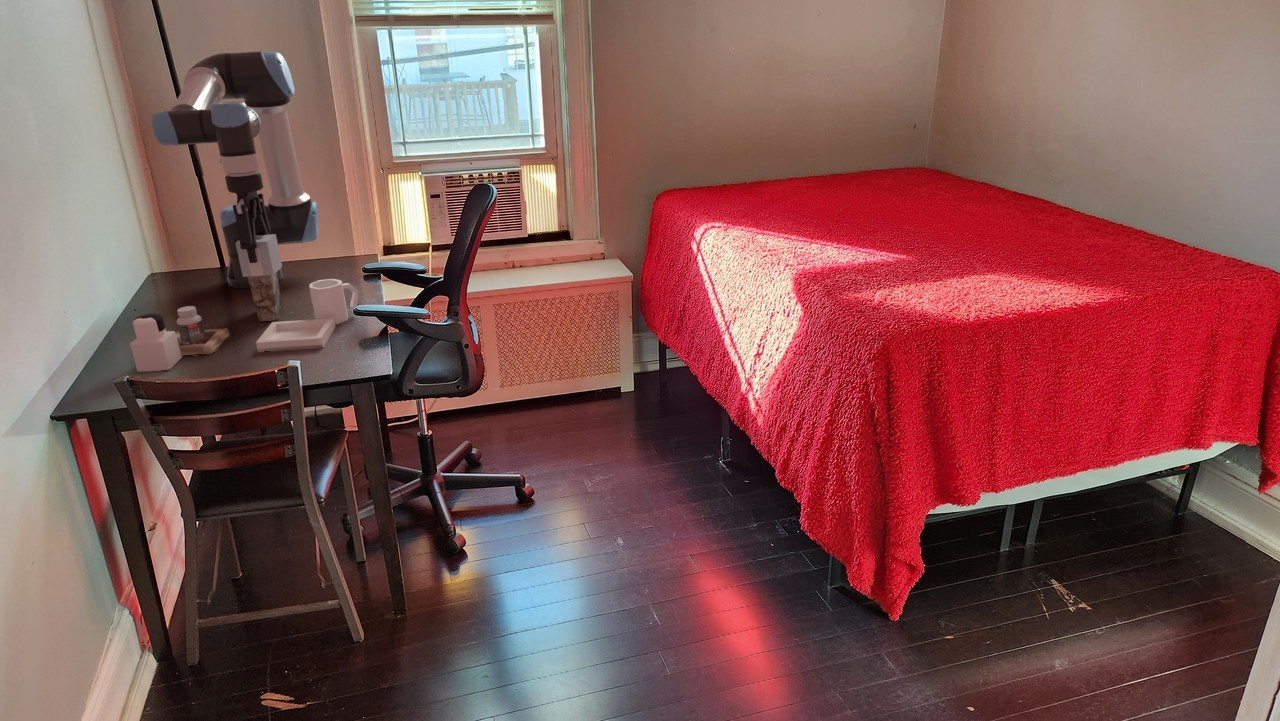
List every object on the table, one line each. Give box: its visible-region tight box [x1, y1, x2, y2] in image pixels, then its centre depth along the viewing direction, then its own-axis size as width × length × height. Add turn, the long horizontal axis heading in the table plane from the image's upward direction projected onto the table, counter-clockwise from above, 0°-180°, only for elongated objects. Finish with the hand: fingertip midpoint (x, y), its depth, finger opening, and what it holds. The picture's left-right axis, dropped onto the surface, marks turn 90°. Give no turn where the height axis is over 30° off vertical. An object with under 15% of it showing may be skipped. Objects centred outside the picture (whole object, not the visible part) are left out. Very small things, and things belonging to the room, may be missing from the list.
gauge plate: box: [175, 328, 230, 355], centre depth 202 cm, size 12×12×2 cm
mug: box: [308, 278, 360, 326], centre depth 217 cm, size 12×9×10 cm
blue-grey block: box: [235, 234, 283, 277], centre depth 197 cm, size 7×7×8 cm
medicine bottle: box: [129, 313, 183, 373], centre depth 190 cm, size 7×7×12 cm
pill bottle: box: [176, 305, 208, 345], centre depth 201 cm, size 5×5×10 cm
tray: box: [255, 318, 336, 353], centre depth 205 cm, size 14×15×2 cm
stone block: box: [247, 272, 283, 322], centre depth 219 cm, size 13×7×20 cm, turn 21°
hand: (263, 270), depth 199 cm, fingers closed on blue-grey block, 7 cm apart
